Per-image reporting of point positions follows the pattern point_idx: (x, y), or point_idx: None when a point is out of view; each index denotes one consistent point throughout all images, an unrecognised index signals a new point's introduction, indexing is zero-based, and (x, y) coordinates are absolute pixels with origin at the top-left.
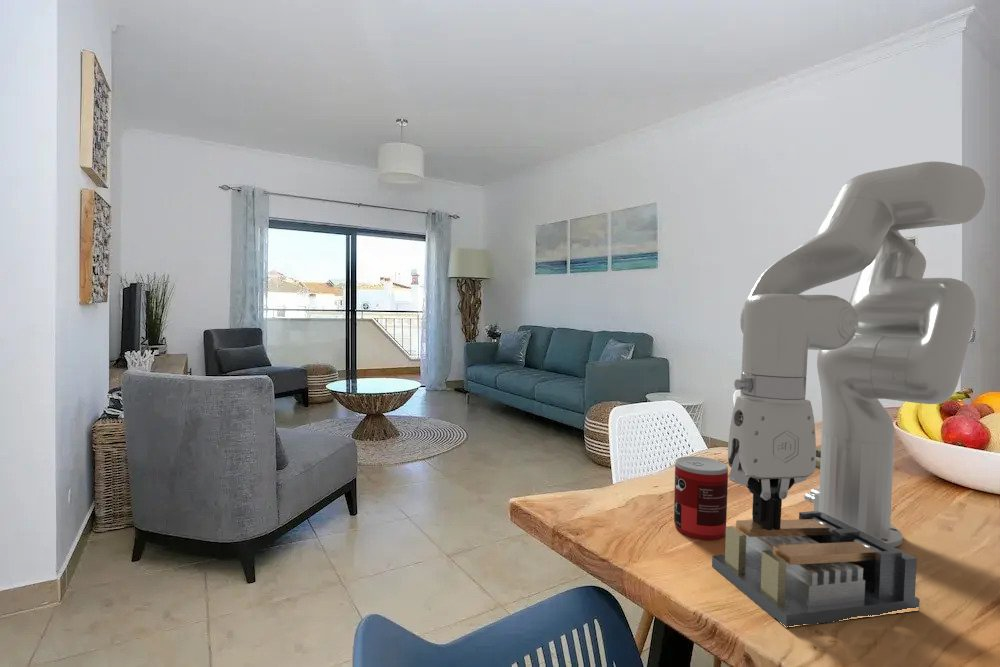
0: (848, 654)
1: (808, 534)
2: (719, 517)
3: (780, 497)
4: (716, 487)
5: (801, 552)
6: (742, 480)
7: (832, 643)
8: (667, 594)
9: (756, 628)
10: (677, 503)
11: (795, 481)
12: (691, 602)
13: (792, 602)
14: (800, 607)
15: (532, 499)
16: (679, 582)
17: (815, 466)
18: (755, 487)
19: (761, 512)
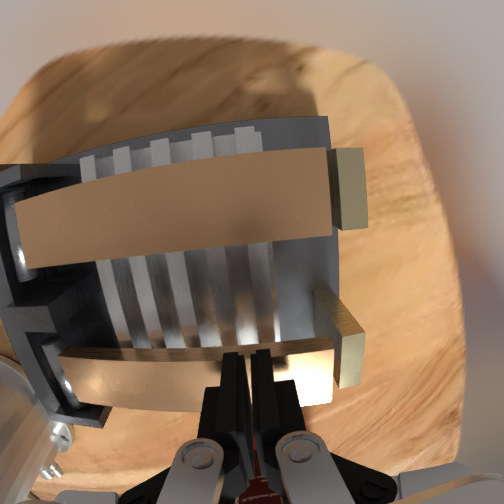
0: (252, 46)
1: (118, 349)
2: (257, 461)
3: (215, 445)
4: None
5: (257, 178)
6: (431, 484)
7: (259, 72)
8: (452, 253)
9: (372, 132)
10: None
11: (110, 500)
12: (433, 225)
13: None
14: (277, 139)
15: None
16: (419, 290)
17: (39, 499)
18: (359, 476)
19: (295, 399)
